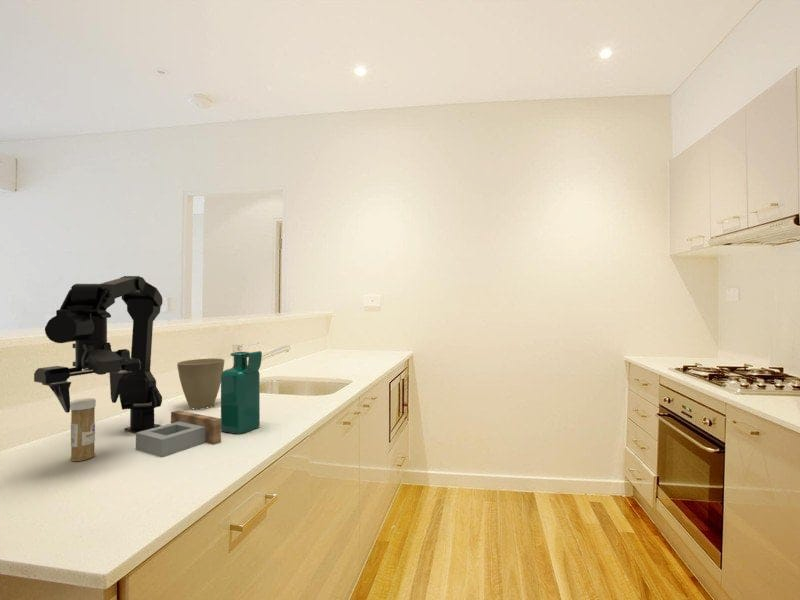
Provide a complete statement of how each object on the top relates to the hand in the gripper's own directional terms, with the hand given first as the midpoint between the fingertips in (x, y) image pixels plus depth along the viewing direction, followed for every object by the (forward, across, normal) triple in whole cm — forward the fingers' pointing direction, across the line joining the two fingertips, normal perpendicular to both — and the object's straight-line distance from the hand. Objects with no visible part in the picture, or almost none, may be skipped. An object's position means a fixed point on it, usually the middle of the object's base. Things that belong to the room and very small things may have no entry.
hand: (91, 407), depth 90 cm
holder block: (+12, +14, -7) cm, 20 cm away
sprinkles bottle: (+12, 0, +3) cm, 13 cm away
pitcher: (+13, +31, -12) cm, 36 cm away
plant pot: (+13, +43, +21) cm, 50 cm away
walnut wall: (+12, +20, -7) cm, 25 cm away
